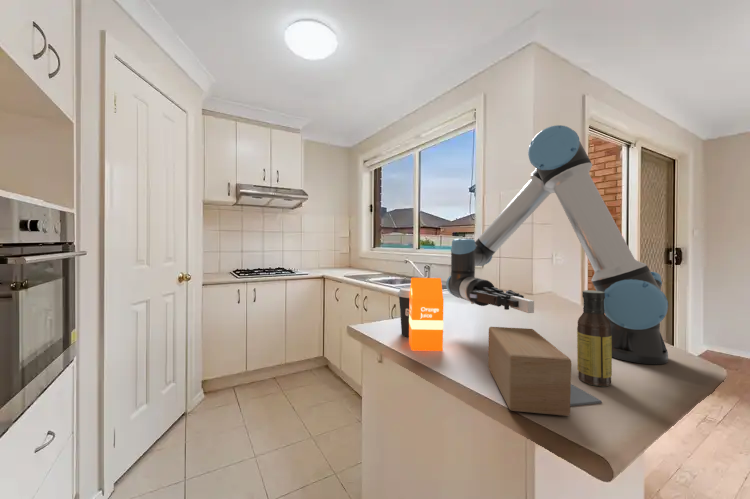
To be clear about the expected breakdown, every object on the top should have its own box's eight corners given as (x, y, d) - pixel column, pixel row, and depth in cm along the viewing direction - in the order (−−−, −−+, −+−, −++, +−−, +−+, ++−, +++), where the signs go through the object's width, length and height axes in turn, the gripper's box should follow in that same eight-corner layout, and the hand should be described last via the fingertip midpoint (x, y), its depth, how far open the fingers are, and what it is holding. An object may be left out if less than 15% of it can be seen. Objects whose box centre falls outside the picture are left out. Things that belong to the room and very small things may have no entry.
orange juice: (408, 341, 95) (409, 276, 95) (437, 342, 95) (438, 276, 95) (411, 350, 88) (412, 279, 87) (443, 351, 88) (444, 279, 87)
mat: (501, 376, 71) (501, 374, 71) (547, 372, 73) (547, 371, 73) (546, 408, 57) (546, 406, 57) (601, 402, 60) (601, 400, 60)
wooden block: (532, 370, 74) (571, 417, 54) (487, 367, 75) (509, 411, 55) (533, 328, 73) (572, 359, 54) (488, 326, 75) (510, 355, 55)
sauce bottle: (602, 376, 72) (604, 289, 71) (617, 389, 65) (620, 294, 65) (571, 374, 73) (573, 288, 73) (583, 386, 67) (585, 292, 66)
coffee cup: (395, 338, 99) (396, 290, 99) (398, 330, 108) (399, 286, 108) (426, 340, 97) (427, 291, 97) (426, 331, 107) (427, 287, 107)
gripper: (497, 303, 95) (556, 322, 71) (456, 304, 92) (504, 324, 69) (497, 278, 94) (557, 289, 71) (457, 278, 92) (505, 290, 69)
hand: (531, 307), depth 70 cm, fingers closed
